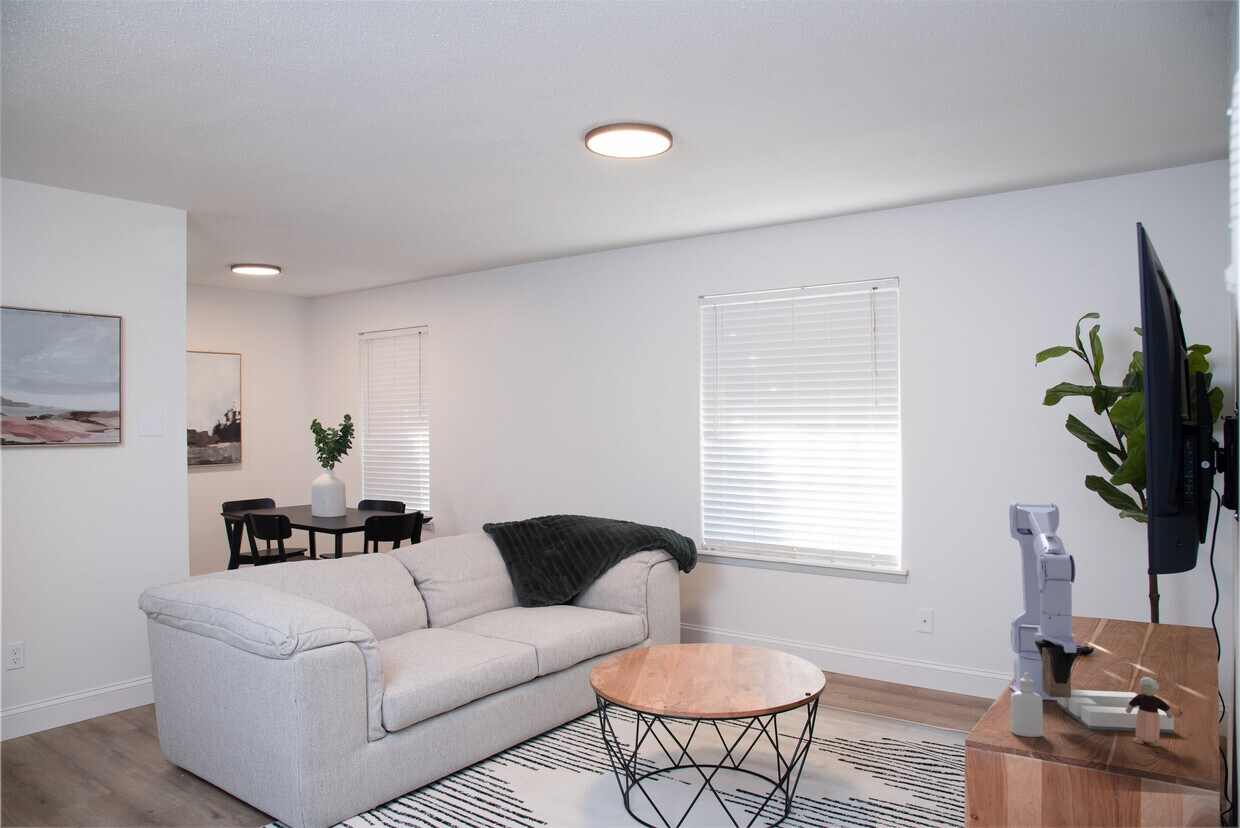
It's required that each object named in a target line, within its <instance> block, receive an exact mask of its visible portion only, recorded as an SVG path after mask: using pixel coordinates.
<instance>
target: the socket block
mask: <svg viewBox="0 0 1240 828" xmlns="http://www.w3.org/2000/svg"><path fill="white" fill-rule="evenodd" d="M1137 695H1138V693H1136V692H1134V691H1133V692H1129V691H1113V690H1112V691H1108V690H1087V689H1086V690H1085V689H1071V698H1063V697H1057V700H1056V701H1057V702H1056V703H1057V706H1058V707H1059V708H1060V709H1062V710H1063V711H1065V712H1066V713H1067V714H1069V715H1070V716H1071V717H1073V719H1075V720H1077V721H1078V722H1079V723H1080V724H1082V725H1084V727H1086V728H1088V729H1089V730H1094V731H1095V730H1099V731H1118V732H1119V731H1120V732H1121V731H1123V732H1136V720H1137V712H1138V709H1139V706H1136V707H1134V708H1133V710H1132V712H1131V713H1127V712H1126V708H1127V706H1128V704H1129V702H1130V701H1131V700H1132V699H1133V698H1134V697H1135V696H1137ZM1158 713H1159V722H1160V732H1159V734H1160V733H1164V734H1175V717H1174V716H1175V715H1174V714H1173V718H1171V719H1170V718H1168V717H1167V714H1166V713H1165V712H1164V711H1162V710H1160V709H1158Z"/></svg>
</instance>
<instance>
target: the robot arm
mask: <svg viewBox="0 0 1240 828" xmlns="http://www.w3.org/2000/svg"><path fill="white" fill-rule="evenodd" d="M1008 515H1009V532H1010V536H1011V538H1013V539H1014V540H1016V541H1018V544H1019V547H1020V552H1021V553H1020V555H1021V575H1022V577H1021V578H1022V594H1023V595H1022V596H1023V600H1022V601H1023V611H1022V612H1021V613H1019V614H1018V615H1016V616H1015V617H1013V619H1012V621H1011V626H1010V627H1011V630H1010V645H1011V650H1012V651H1013V652H1014V654H1017V655H1016V656H1015V657H1014V661H1013V685H1012V684H1011V685H1009V688H1010V689H1011V690H1012V691H1014V692H1016V691H1020V679H1022V678H1023V677H1024V673H1028V674H1029V678H1030V679H1031V680H1033V692H1035V693H1037V694H1039V695H1040V696H1041V697H1042V701H1044V700H1045V701H1057V697H1050V696H1048V695H1047V694H1045V693H1044V692H1043V691H1042V647H1044V648H1046V650H1047V652H1048V654H1049V656H1050V659H1051V663H1052V668H1053V676H1054V680H1055V683H1061V684H1067V682H1068V678H1069V674H1070V670H1072V667H1073V664H1074V662H1075V661H1076V659H1077V657H1078V656H1079V653H1080V652H1079V650H1077V643H1076V641H1075V640H1074V636H1073V629H1072V628H1073V626H1072V625H1073V621H1072V620H1073V616H1072V614H1073V613H1072V612H1073V611H1072V609H1073V604H1072V603H1073V602H1072V601H1073V598H1072V597H1073V596H1072V595H1073V594H1072V586H1073V585H1072V584H1073V583H1074V582H1075V580H1076V563H1075V559H1074V555H1073V554H1071V553H1069V552H1067V551H1066V550H1065V546H1064V544H1063V541H1062V539H1061V537H1059V536H1058V535H1057V534H1056V533H1057V530H1058V528H1059V525H1060V511H1059V507H1058V505H1057V504H1056V503H1055V502H1052V503H1045V502H1044V503H1043V502H1039V503H1038V502H1037V503H1036V502H1017V501H1013V502H1012V503H1011V504H1009V514H1008ZM1025 625H1026V626H1025ZM1027 625H1028V626H1027Z"/></svg>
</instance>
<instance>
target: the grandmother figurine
mask: <svg viewBox="0 0 1240 828" xmlns="http://www.w3.org/2000/svg"><path fill="white" fill-rule="evenodd" d="M1138 684H1139V688H1140V691H1141V692H1142V693H1139V694H1138V693H1137V696H1135V697H1134V698H1133V699H1132V700H1131V701H1130V702H1129V704H1128V706H1127V708H1126V712H1127V713H1131V712H1132V710H1133V708H1134V707H1136V706H1139V709H1138V712H1137V720H1136V731H1135V736H1136V737H1134V738H1133V739H1132V742H1133V743H1135V744H1140V745H1142V744H1145V743H1146V742H1148V743H1147V744H1148V745H1150V746H1153V747H1161V744H1160V742H1159V740H1160V733H1159V732H1160V722H1159V713H1158V709H1160V710H1162V711H1164V712H1165V713H1166V714H1167V717H1168V718H1170V719H1171V718H1173V715H1174V714H1173V713H1172V710H1171V707H1170V706H1169V704H1167V703H1166V702H1165V701H1164V700H1163V699H1161V698H1159V697H1158V696H1155V695H1156V693H1157V692H1158V691H1160V686H1159V684H1158V683H1157V681H1156V680H1155V679H1154V678H1151V677H1150V676H1142V677H1141V679H1140V680H1139V683H1138Z"/></svg>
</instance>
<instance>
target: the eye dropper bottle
mask: <svg viewBox="0 0 1240 828" xmlns="http://www.w3.org/2000/svg"><path fill="white" fill-rule="evenodd" d="M1043 705H1044V704H1043V700H1042V697H1041V696H1040V695H1039V694H1037V693H1035V692H1033V680H1031V679H1030V678H1029V674H1028V673H1024V677H1023V678H1022V679H1020V691H1016V692H1015V691H1014V692H1012V693H1011V695H1010V731H1011V732H1012V733H1013V734H1014V735H1016V736H1020V737H1027V738H1033V737H1034V738H1037V737H1042V736H1044V731H1043V730H1044V727H1043V726H1044V725H1043V724H1044V719H1043V718H1044V716H1043V715H1044V713H1043V711H1044V710H1043V707H1044V706H1043Z"/></svg>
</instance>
